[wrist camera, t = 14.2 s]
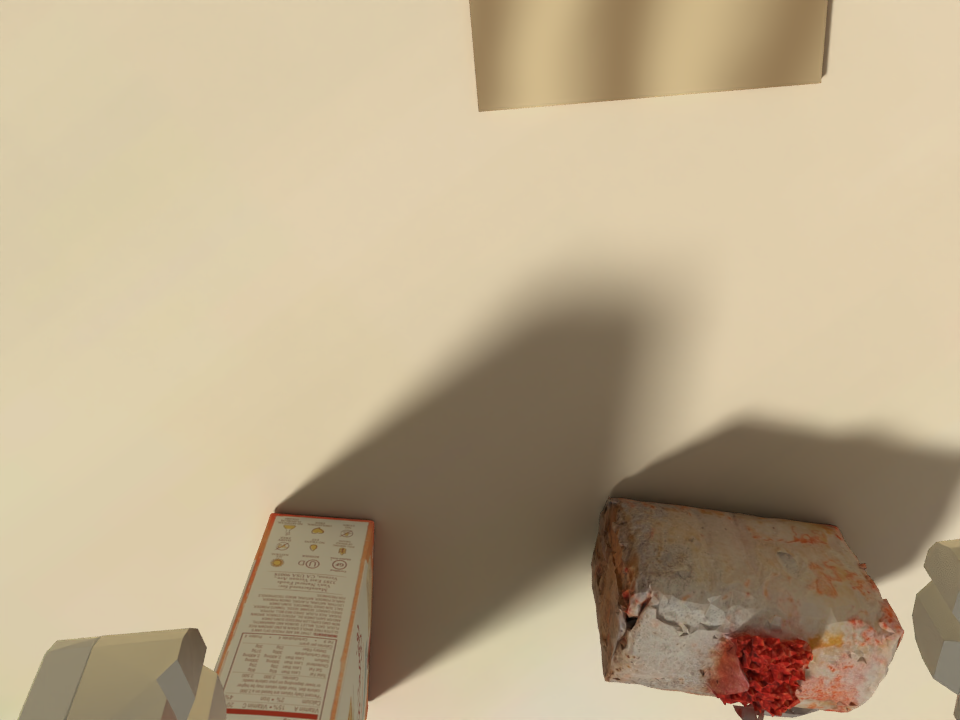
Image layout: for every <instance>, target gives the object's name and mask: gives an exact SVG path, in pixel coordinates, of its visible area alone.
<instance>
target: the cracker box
mask: <svg viewBox="0 0 960 720" xmlns="http://www.w3.org/2000/svg"><path fill="white" fill-rule="evenodd" d="M373 552H374V522H373V521H371V520H358V519H343V518H331V517H316V516H303V515H291V514H276V513H272V514H271V515H270V517H269V520H268V523H267V526H266V529H265V532H264V535H263V538H262V540H261V543H260V546H259V548H258V551H257V554H256V556H255V559H254V562H253V565H252V567H251V570H250V573H249V576H248V579H247V581H246V584H245V587H244V590H243V593H242V595H241V598H240V601H239V604H238V606H237V609H236V612H235V615H234V617H233V620H232V623H231V625H230V628H229V631H228V634H227V636H226V639H225V642H224V644H223V647H222V650H221V653H220V655H219V658H218V661H217V663H216V666H215V669H214V672H216V673H217V674H218V676H219V679H220V681H221V684H222V686H223V690H224V696H225V701H226V706H227V712H226V720H366V719H367V711H368V685H369V661H370V637H371V613H372V589H373Z"/></svg>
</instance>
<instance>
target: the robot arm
mask: <svg viewBox="0 0 960 720" xmlns="http://www.w3.org/2000/svg"><path fill="white" fill-rule="evenodd" d="M924 568H925V569H926V571H927V573H928V574H929V576H930V577H931V579H932V581H931V582H929V583H928V584H927V585H926V586H925V587H924V588H923V589H922V590H921V591H919V592H918V593H917V594H916V599H915V604H914V609H913V614H912V617H913V625H914V632H915V639H916V642H917V645H918V648H919V651H920V653H921V656H922V659H923V660H924V662H925V664H926V666H927V668H928V670H929V672H930V673H931V675H932V677H933V679H935V680H936V681H938V682H939V683H941V684H942V685H944V686H945V687H947V688H948V689H950V690H951V691H953V692H954V693H956V694H957V700H956V705H955V710H954V716H955V718H956V720H960V539H955V540H947V541H939V542H936V543H935V544H934V545H933V546H932V547H931V548H930V549H929V550H928V553H927V556H926V560H925V563H924ZM206 649H207V647H206V645H205V643H204V641H203V639H202V637H201V635H200V632H199V630H198V629H196V628H186V629H174V630H163V631H151V632H140V633H129V634H117V635H106V636H99V637H89V638H78V639H68V640H58V641H56V642H55V643H54V644H53V645H52V647H51V648H50V649H49V650H48V651H47V652H46V653H45V655H44V657H43V660H42V662H41V664H40V667H39V669H38V671H37V674H36V676H35V679H34V681H33V683H32V686H31V688H30V691H29V693H28V695H27V698H26V700H25V703H24V705H23V707H22V710H21V712H20V714H19V717H18V719H17V720H226V712H227V706H226V701H225V696H224V690H223V686H222V684H221V681H220V679H219V676H218V674H217V673H216V672H214V671H213V670H211V669H209V668H208V667H206V666H204V665H203V662H204V658H205V653H206Z"/></svg>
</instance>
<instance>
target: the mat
mask: <svg viewBox="0 0 960 720" xmlns="http://www.w3.org/2000/svg"><path fill="white" fill-rule="evenodd" d="M469 4H470V15H471V27H472V38H473V50H474V62H475V73H476V85H477V97H478V108H479V112H482V111H494V110H506V109H518V108H530V107H542V106H554V105H566V104H578V103H590V102H602V101H613V100H625V99H637V98H649V97H661V96H673V95H685V94H697V93H709V92H721V91H733V90H745V89H756V88H768V87H780V86H792V85H804V84H816V83H821V77H822V65H823V53H824V41H825V29H826V16H827V4H828V0H469Z"/></svg>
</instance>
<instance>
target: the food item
mask: <svg viewBox="0 0 960 720" xmlns="http://www.w3.org/2000/svg"><path fill="white" fill-rule="evenodd" d="M591 566H592V590H593V594H594V599H595V603H596V612H597V622H598V629H599V633H600V644H601V651H602V665H603V675H604V678H605V681H607V682H620V683H628V684H641V685H644V686H647V687H651V688H656V689H661V690H669V691H682V692H686V693H690V694H696V695H705V696H715V697H717V698H720V699H721V700H722V702H723V703H724V704H725V705H726V703H730V704H732V703H736V702H741V703H742V704H743V705H744V706H735V705H733V706H734V708H735V711H736V713H737V714H738V715H739V716H740V717H741V718H742V720H763V717H764V715H767V716H772V717H773V716H779V717H792V718H793V717H797V716H801V715H805V714H808V713H811V712H815V711H818V710H824V711H836V712H849V711H851V710H853V709H855V708H857V707H859V706H861V705H862V704H864V703H865V702H866V701H867V700H868V699H870V698H871V696H872V695H873V694H874V692H875V690H876V689H877V687H878V685H879V683H880V682H881V681H882V680H883V679H884V677H885V676H886V674H887V672H888V666H889V664H890V663H891V661H892V659H893V657H894V654H895V652H896V650H897V648H898V646H899V643H900V642H901V640H902V638H903V634H904V630H903V629H902V627H901V625H900V623H899V621H898V618H897V616H896V614H895V612H894V611H893V609H892V608H891V606H890V604H889V603H888V601H887V599H882V597H881V594H880V592H879V589H878V588H877V586H876V585H875V583H874V581H873V580H872V579H871V577H870V576H868V575H867V573H866V571H865V569H866V568H867V567H866V565H865V563H864V564H860V563H859V561H858V559H857V556H856V555H855V554H854V553H852V551H851V550H850V548H849V546H848V545H847V544H846V542H845V540H844V538H843V536H842V534H841V532H840V530H839V528H838V527H836V526H833V525H827V524H815V523H807V522H799V521H794V520H789V519H780V518H763V517H758V516H753V515H746V514H740V513H731V512H722V511H717V510H711V509H702V508H695V507H688V506H682V505H675V504H662V503H655V502H649V501H646V502H642V501H636V500H632V499H625V498H610V497H609V498H608V500H607V502H606V504H605V507H604V510H603V512H601V513H600V519H599V532H598V536H597V540H596V544H595V548H594V553H593V558H592V562H591ZM748 703H750V704H749V705H747V704H748ZM756 715H759V716H758V719H757V716H756Z"/></svg>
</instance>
